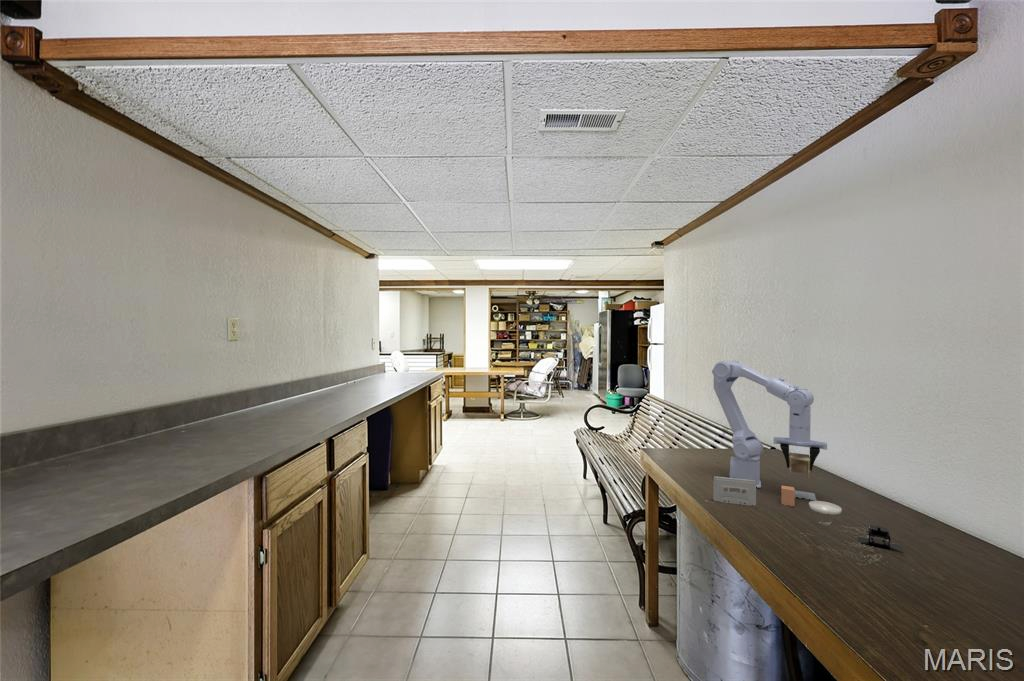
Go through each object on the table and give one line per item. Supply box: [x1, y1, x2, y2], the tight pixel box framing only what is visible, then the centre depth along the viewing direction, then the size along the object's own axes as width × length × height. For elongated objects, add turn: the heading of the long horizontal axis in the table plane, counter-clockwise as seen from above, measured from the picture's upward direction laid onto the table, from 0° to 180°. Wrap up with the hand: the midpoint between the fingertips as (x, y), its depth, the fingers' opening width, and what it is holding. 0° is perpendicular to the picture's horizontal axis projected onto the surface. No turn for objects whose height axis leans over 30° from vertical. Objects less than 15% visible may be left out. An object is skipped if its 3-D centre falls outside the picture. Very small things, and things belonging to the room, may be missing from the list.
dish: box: [808, 500, 842, 516], centre depth 133 cm, size 8×8×1 cm
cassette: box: [712, 475, 757, 507], centre depth 138 cm, size 12×2×8 cm, turn 70°
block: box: [780, 485, 796, 507], centre depth 138 cm, size 3×3×5 cm
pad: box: [795, 490, 817, 501], centre depth 145 cm, size 7×7×1 cm
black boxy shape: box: [857, 524, 905, 554], centre depth 111 cm, size 12×7×5 cm, turn 55°
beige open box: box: [788, 451, 811, 480], centre depth 143 cm, size 5×6×6 cm
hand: (799, 468), depth 143 cm, fingers closed on beige open box, 5 cm apart
